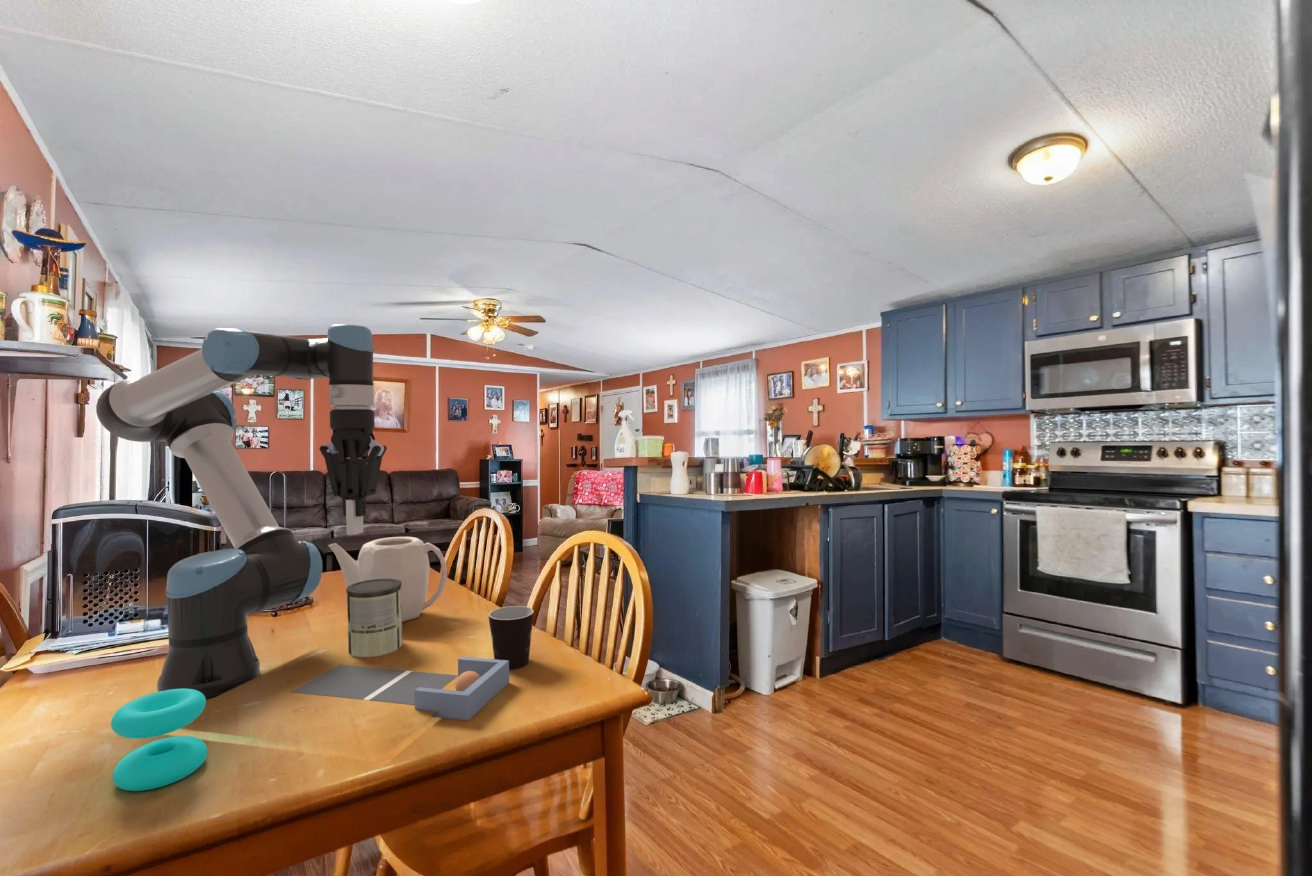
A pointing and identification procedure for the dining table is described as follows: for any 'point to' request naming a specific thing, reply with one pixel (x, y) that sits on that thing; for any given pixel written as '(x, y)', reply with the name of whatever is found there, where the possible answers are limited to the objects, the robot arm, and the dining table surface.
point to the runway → (373, 684)
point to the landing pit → (473, 697)
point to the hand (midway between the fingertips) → (355, 533)
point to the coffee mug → (511, 634)
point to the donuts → (162, 756)
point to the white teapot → (395, 569)
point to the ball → (466, 680)
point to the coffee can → (374, 617)
